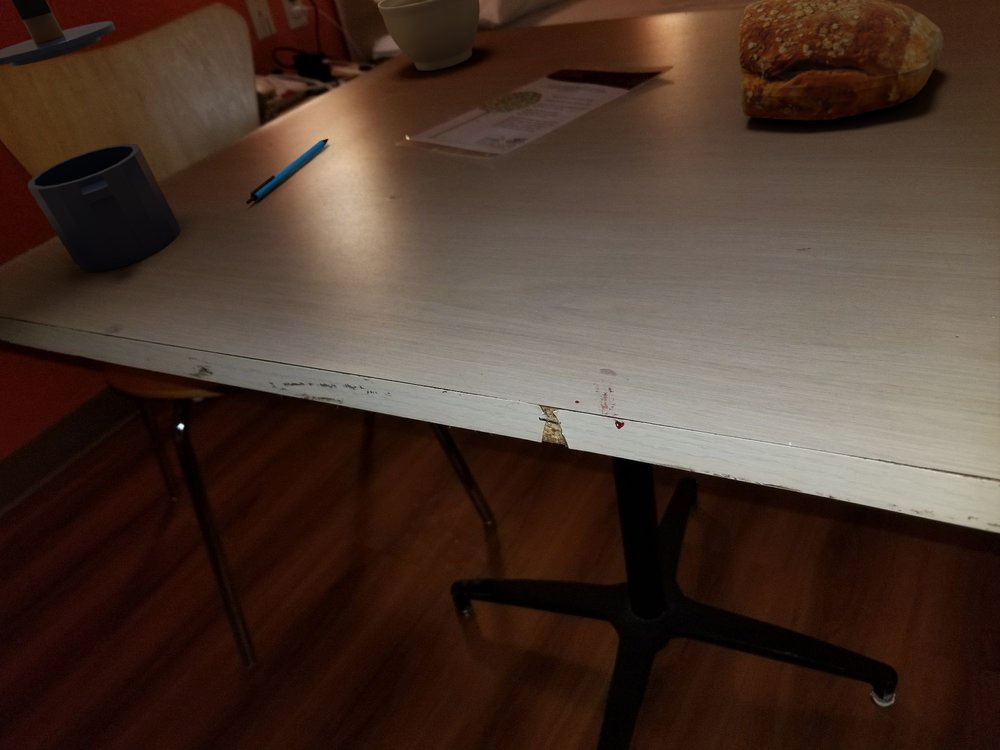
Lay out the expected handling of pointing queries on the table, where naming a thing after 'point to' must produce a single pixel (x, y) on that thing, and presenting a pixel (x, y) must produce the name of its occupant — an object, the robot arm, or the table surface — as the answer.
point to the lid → (52, 40)
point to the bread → (832, 57)
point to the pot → (106, 207)
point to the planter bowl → (432, 30)
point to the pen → (285, 172)
